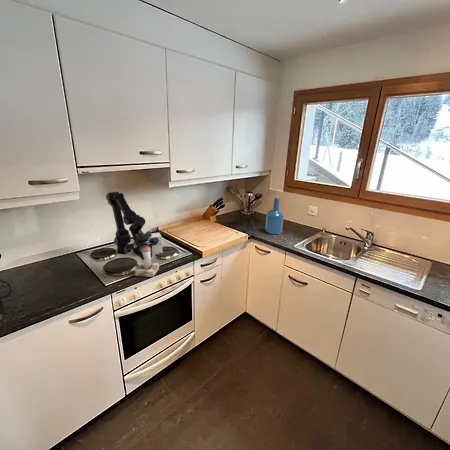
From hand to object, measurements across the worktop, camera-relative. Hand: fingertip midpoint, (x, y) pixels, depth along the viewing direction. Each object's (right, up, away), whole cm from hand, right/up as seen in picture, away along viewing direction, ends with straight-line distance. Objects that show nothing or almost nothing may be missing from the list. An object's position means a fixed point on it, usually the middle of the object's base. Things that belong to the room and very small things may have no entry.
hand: (147, 258), depth 141 cm
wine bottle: (+82, +12, +71) cm, 109 cm away
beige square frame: (-1, -8, +4) cm, 9 cm away
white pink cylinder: (-1, -5, +3) cm, 6 cm away
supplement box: (-3, 0, +28) cm, 28 cm away
